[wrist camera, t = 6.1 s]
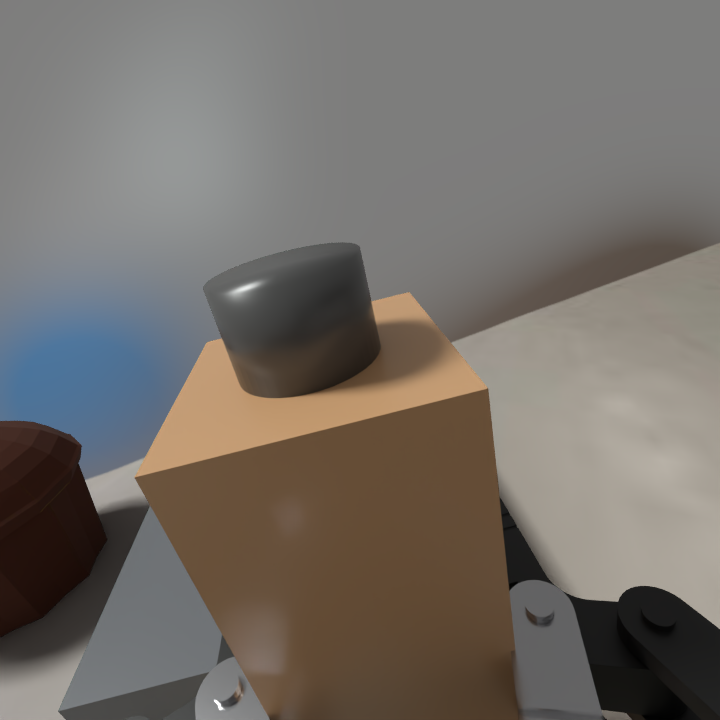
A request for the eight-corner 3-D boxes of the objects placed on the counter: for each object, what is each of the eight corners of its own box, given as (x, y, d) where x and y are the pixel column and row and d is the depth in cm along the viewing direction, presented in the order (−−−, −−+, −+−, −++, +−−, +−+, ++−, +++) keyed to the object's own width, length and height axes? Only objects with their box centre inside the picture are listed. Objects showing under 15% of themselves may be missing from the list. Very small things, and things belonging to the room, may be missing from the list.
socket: (422, 410, 34) (416, 376, 33) (532, 637, 18) (528, 588, 17) (196, 467, 34) (181, 436, 33) (95, 752, 17) (57, 711, 16)
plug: (481, 706, 16) (396, 215, 9) (540, 884, 12) (474, 260, 5) (364, 736, 16) (177, 268, 9) (385, 926, 12) (68, 360, 5)
